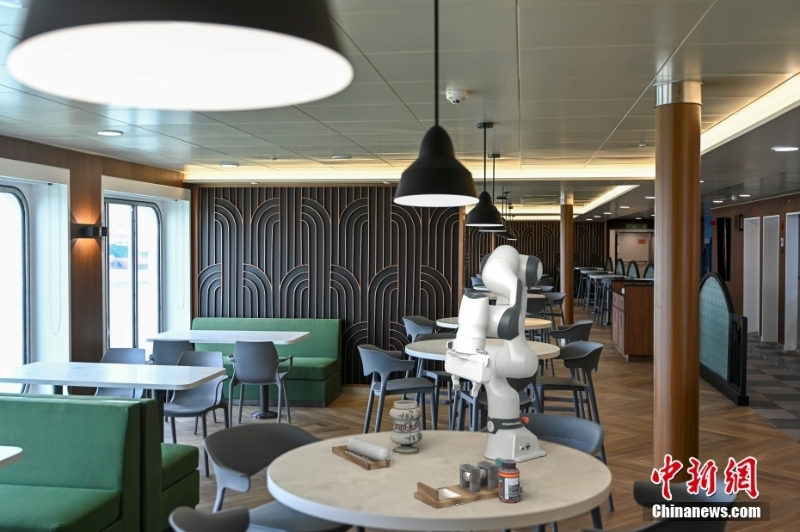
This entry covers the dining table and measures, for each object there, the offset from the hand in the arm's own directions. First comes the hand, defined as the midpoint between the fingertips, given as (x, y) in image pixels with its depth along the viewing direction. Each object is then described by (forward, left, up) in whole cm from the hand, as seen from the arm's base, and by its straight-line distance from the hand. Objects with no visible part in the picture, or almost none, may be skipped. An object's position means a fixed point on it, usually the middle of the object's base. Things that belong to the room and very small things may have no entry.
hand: (464, 393), depth 218 cm
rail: (+1, +3, -29) cm, 29 cm away
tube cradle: (+10, -50, -29) cm, 58 cm away
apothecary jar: (-10, -52, -29) cm, 60 cm away
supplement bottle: (-6, +13, -29) cm, 33 cm away
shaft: (-5, +3, -27) cm, 27 cm away
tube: (+9, -49, -26) cm, 56 cm away
